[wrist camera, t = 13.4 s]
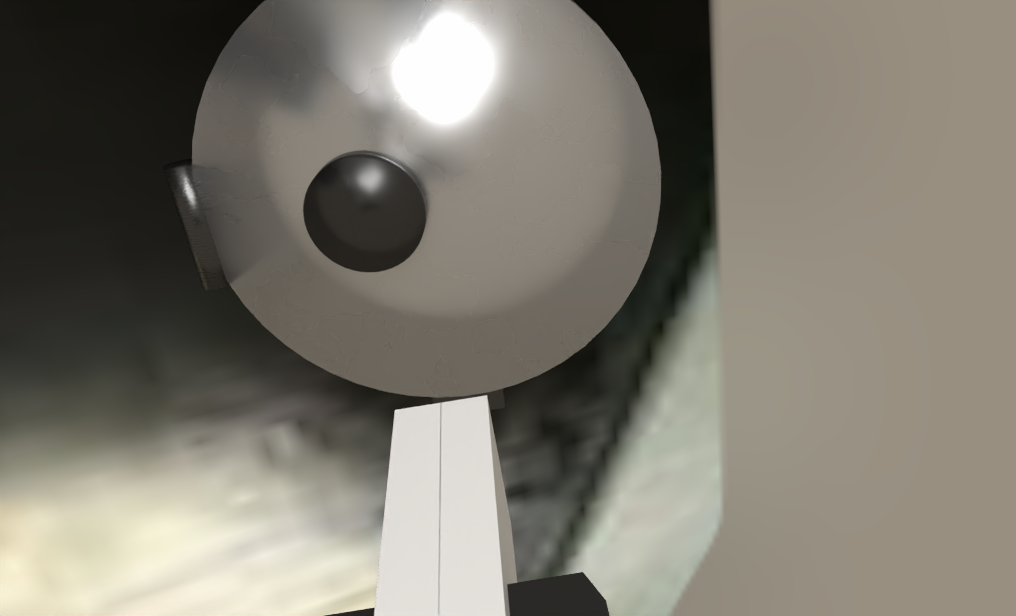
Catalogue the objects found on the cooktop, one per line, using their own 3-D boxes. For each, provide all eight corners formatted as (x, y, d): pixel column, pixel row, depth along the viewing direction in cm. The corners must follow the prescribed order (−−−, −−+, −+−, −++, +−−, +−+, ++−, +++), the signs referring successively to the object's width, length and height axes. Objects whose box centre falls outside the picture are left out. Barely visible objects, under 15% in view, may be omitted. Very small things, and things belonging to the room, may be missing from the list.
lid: (251, 404, 32) (237, 431, 30) (113, -13, 25) (85, -7, 23) (667, 360, 31) (674, 385, 29) (642, -92, 24) (651, -92, 22)
